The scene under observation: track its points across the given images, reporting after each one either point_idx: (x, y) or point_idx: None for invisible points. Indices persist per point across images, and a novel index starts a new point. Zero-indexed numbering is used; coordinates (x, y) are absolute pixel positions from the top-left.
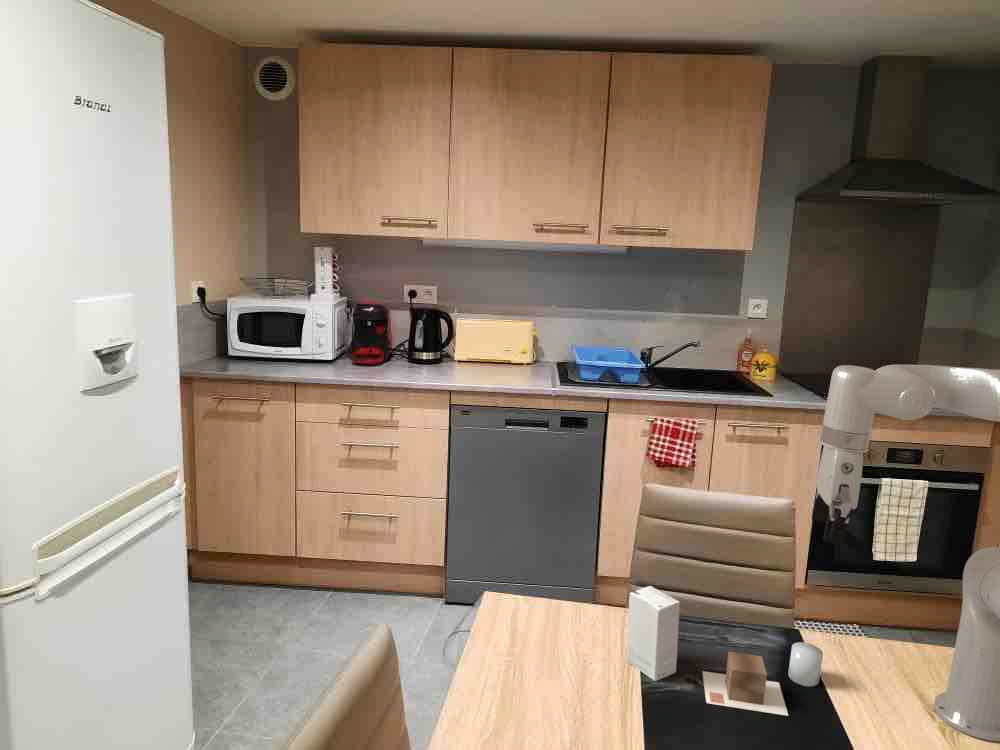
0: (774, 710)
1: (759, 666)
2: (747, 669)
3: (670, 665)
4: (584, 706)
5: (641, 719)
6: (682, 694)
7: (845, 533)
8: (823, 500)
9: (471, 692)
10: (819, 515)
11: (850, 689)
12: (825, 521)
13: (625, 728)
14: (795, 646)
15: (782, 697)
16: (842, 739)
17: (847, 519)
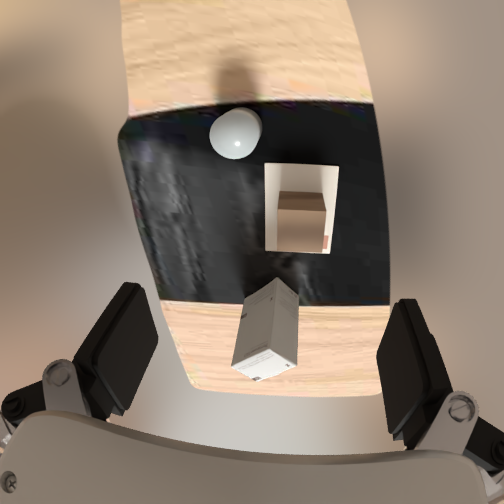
0: (330, 181)
1: (306, 217)
2: (317, 234)
3: (284, 291)
4: (345, 342)
5: (360, 307)
6: (315, 273)
7: (431, 338)
8: (107, 397)
9: (334, 391)
10: (144, 342)
11: (249, 67)
12: (146, 302)
13: (373, 317)
14: (227, 152)
15: (300, 165)
16: (371, 111)
17: (475, 417)
